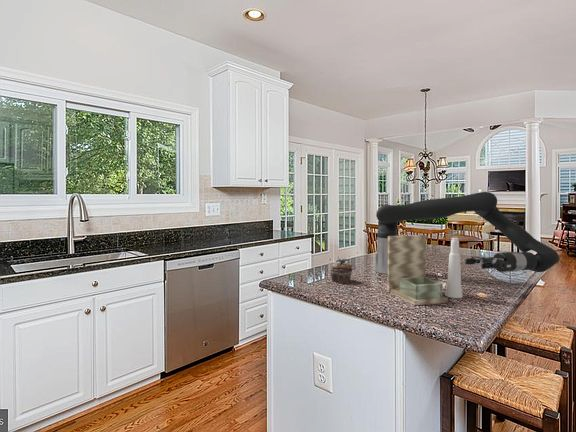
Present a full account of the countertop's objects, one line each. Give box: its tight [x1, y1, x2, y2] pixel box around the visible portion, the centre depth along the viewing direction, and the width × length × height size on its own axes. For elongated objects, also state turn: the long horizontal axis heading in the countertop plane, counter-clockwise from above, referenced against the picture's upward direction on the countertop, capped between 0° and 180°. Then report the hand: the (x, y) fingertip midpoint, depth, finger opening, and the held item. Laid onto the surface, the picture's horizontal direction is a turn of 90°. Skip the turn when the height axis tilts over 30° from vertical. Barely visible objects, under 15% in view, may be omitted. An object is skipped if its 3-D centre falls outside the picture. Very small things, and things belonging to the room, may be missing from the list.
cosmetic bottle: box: [444, 237, 463, 299], centre depth 134 cm, size 6×6×22 cm
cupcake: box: [329, 258, 353, 284], centre depth 159 cm, size 10×10×10 cm
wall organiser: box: [386, 234, 448, 306], centre depth 134 cm, size 16×18×22 cm
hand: (473, 263), depth 136 cm, fingers open, 8 cm apart
